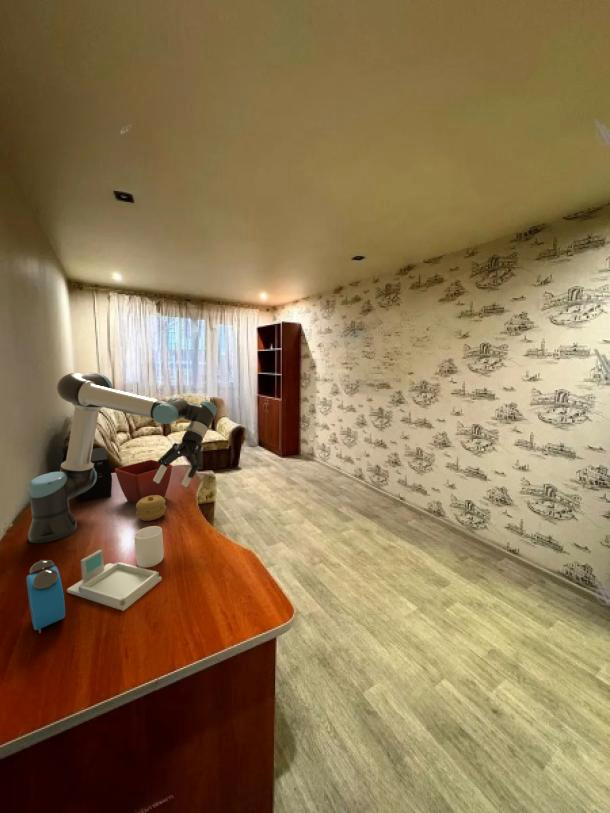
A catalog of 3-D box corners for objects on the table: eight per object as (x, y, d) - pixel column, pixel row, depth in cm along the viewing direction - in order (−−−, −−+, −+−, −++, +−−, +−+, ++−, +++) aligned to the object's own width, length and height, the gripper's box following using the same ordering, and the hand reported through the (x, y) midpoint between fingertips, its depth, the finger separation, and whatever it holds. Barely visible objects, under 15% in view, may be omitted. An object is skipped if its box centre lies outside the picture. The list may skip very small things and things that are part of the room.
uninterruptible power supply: (109, 479, 190) (107, 446, 187) (113, 497, 162) (110, 459, 160) (76, 485, 180) (72, 451, 178) (74, 505, 153) (70, 465, 150)
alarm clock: (30, 614, 83) (23, 560, 82) (59, 601, 88) (54, 550, 86) (36, 643, 74) (29, 584, 73) (68, 627, 79) (62, 571, 77)
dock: (67, 592, 92) (64, 566, 91) (109, 565, 104) (107, 542, 103) (123, 610, 84) (121, 582, 83) (161, 579, 96) (159, 555, 95)
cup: (142, 571, 101) (140, 541, 100) (128, 557, 109) (126, 529, 108) (168, 559, 107) (166, 531, 106) (153, 547, 115) (151, 520, 114)
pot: (133, 517, 139) (132, 495, 137) (161, 509, 146) (160, 488, 145) (140, 527, 130) (139, 503, 129) (170, 518, 137) (168, 496, 136)
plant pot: (175, 496, 161) (173, 464, 159) (138, 510, 145) (135, 475, 143) (153, 489, 172) (151, 459, 170) (116, 502, 156) (113, 468, 154)
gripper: (224, 441, 126) (202, 491, 114) (176, 438, 136) (151, 484, 124) (215, 431, 121) (190, 482, 109) (165, 428, 130) (138, 475, 118)
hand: (169, 483), depth 116 cm, fingers open, 13 cm apart
